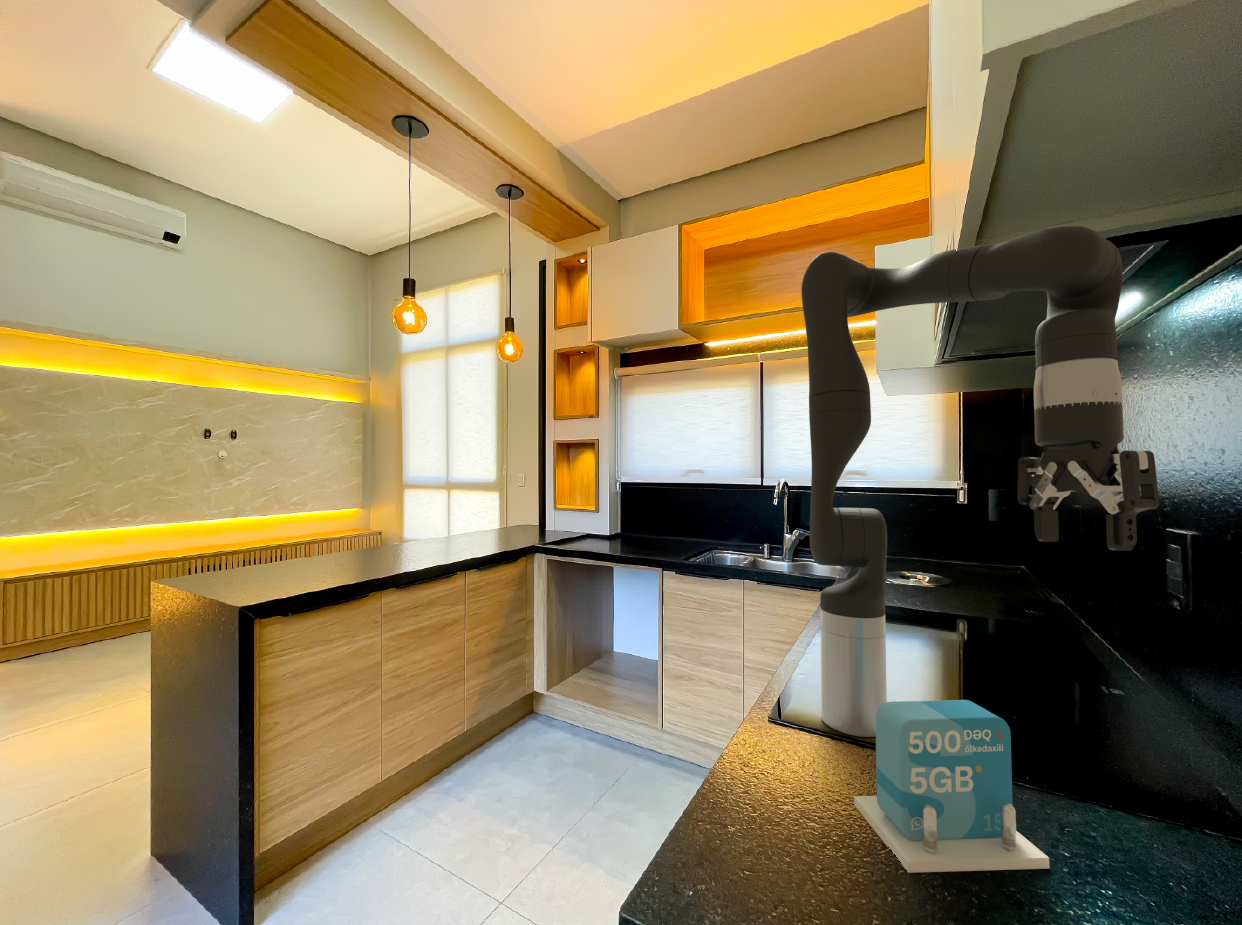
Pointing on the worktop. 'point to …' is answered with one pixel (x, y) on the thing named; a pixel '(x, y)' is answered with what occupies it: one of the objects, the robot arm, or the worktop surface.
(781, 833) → the worktop surface
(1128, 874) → the worktop surface
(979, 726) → the data package
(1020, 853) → the tray
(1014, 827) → the guide pins
